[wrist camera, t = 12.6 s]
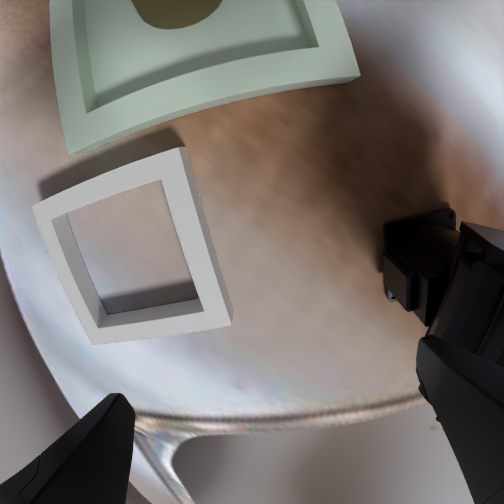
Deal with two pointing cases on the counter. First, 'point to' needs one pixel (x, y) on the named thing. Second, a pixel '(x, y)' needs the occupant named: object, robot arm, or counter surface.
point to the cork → (174, 12)
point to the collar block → (190, 235)
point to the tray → (186, 61)
